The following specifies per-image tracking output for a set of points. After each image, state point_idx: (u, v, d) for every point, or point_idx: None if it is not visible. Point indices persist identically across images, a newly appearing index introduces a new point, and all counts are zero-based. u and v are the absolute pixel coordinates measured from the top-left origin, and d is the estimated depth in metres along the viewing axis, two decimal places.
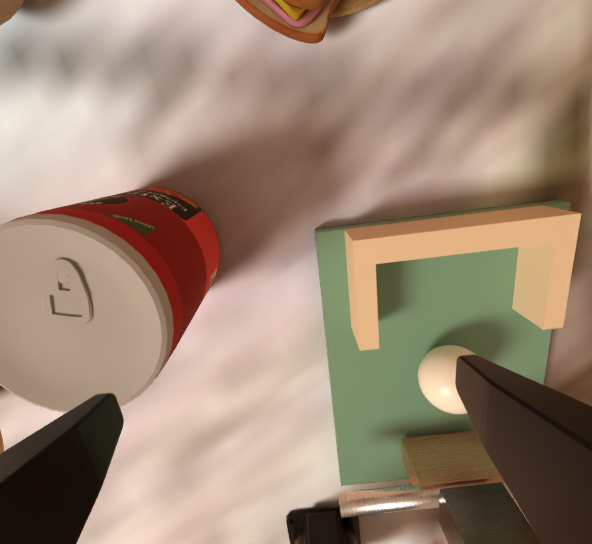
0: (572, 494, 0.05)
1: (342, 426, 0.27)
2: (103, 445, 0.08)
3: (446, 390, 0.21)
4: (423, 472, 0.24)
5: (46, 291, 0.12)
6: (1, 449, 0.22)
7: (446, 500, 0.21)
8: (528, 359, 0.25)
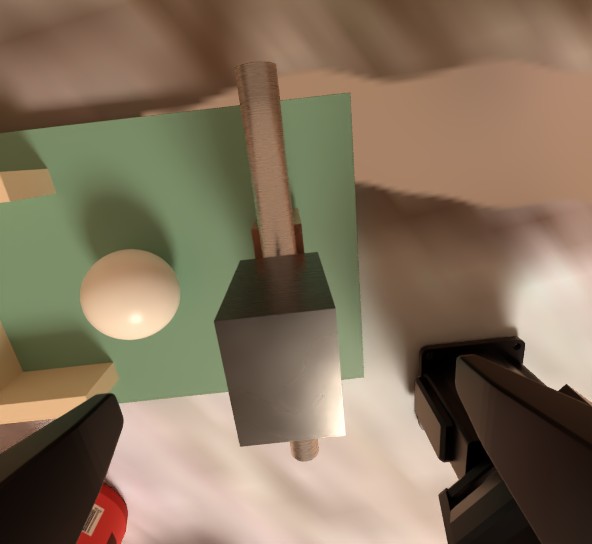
0: (572, 494, 0.05)
1: None
2: (103, 445, 0.08)
3: (110, 334, 0.15)
4: None
5: None
6: None
7: None
8: (133, 149, 0.16)
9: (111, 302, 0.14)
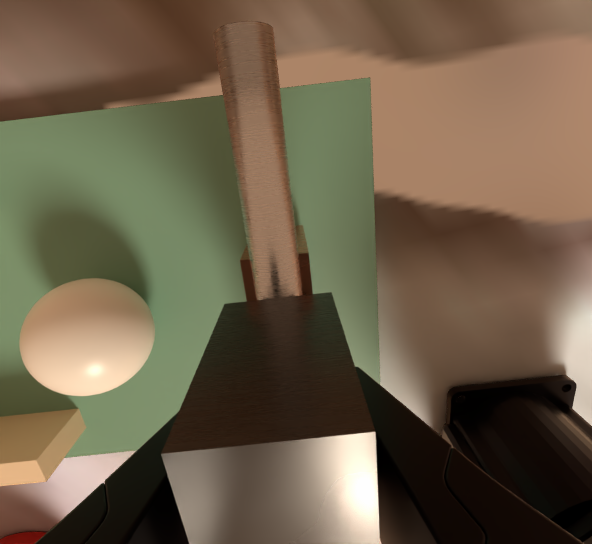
0: (391, 512, 0.06)
1: None
2: None
3: (58, 392, 0.12)
4: None
5: None
6: None
7: None
8: (93, 152, 0.13)
9: (56, 354, 0.11)
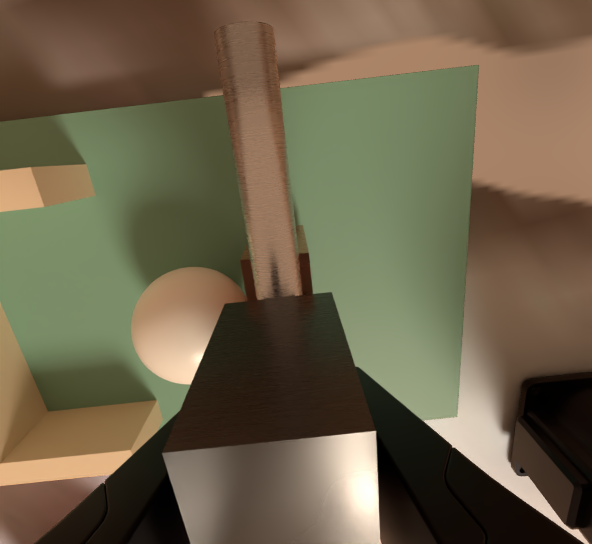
0: (392, 512, 0.06)
1: None
2: None
3: (170, 380, 0.12)
4: None
5: None
6: None
7: None
8: (196, 140, 0.13)
9: (178, 340, 0.11)
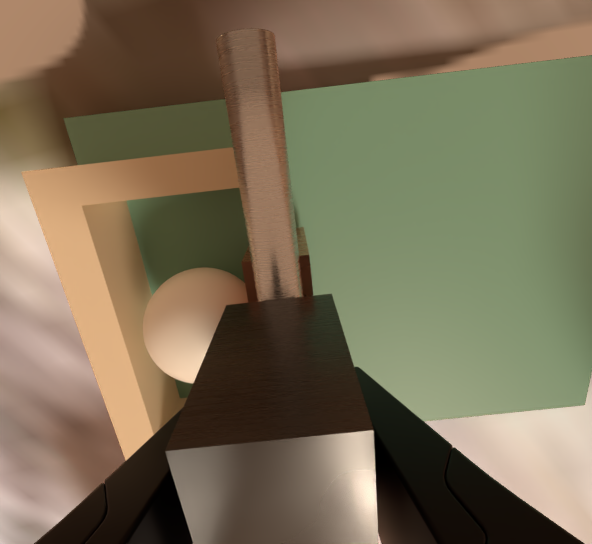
0: (391, 511, 0.06)
1: (461, 408, 0.17)
2: None
3: None
4: None
5: None
6: None
7: None
8: (368, 123, 0.13)
9: None
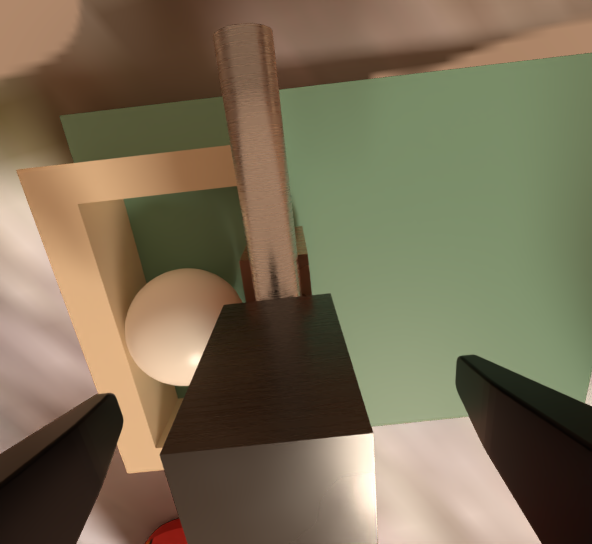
0: (572, 494, 0.05)
1: (461, 408, 0.17)
2: (103, 445, 0.08)
3: None
4: None
5: None
6: None
7: None
8: (368, 121, 0.13)
9: None
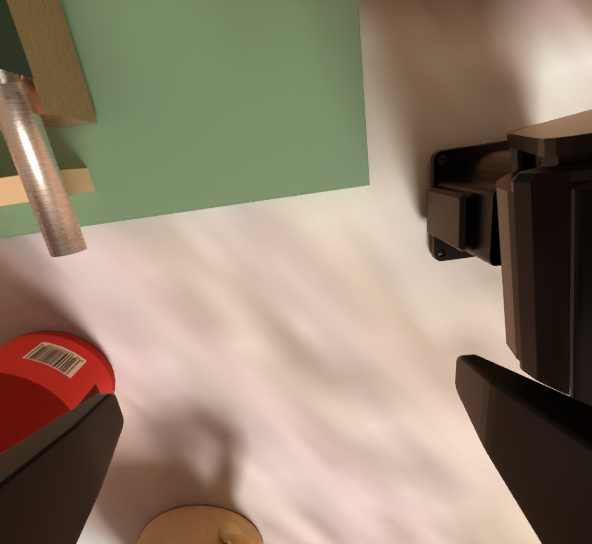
0: (572, 494, 0.05)
1: (255, 191, 0.19)
2: (103, 445, 0.08)
3: None
4: None
5: None
6: None
7: None
8: None
9: None
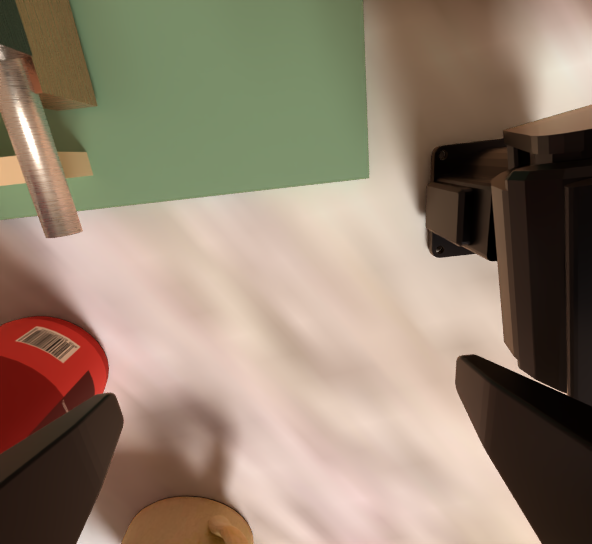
0: (572, 494, 0.05)
1: (254, 180, 0.19)
2: (103, 445, 0.08)
3: None
4: None
5: None
6: (228, 535, 0.23)
7: None
8: None
9: None
